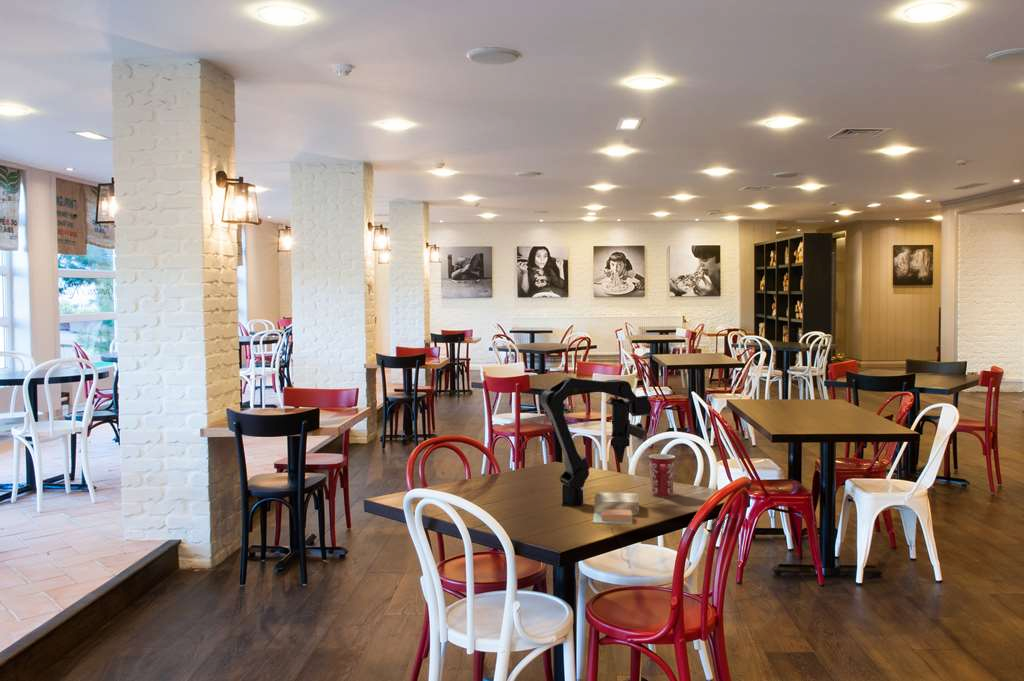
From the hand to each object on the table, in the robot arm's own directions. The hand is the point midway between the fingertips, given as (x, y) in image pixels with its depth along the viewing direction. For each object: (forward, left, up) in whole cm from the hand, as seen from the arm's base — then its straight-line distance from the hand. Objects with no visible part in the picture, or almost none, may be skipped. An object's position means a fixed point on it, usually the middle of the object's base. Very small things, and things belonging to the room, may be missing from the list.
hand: (620, 462), depth 285 cm
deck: (-1, -14, -12) cm, 19 cm away
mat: (-2, -25, -12) cm, 28 cm away
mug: (+14, +6, -13) cm, 20 cm away
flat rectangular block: (-1, -26, -10) cm, 28 cm away
